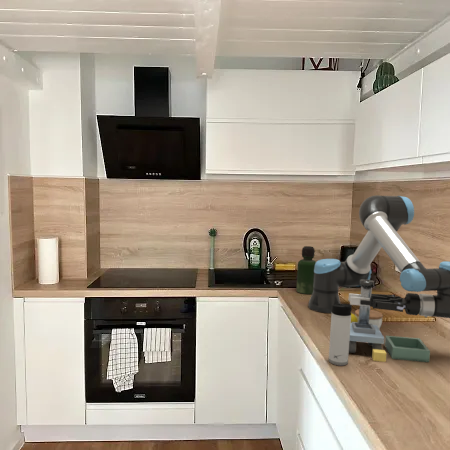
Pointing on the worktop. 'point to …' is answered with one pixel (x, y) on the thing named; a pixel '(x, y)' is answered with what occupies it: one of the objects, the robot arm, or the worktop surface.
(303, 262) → the green bottle
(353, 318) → the lemon
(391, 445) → the worktop surface
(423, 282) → the robot arm
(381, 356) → the block
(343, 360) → the travel mug
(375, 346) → the blue recessed platform
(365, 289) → the clear capped cylinder
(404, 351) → the tray
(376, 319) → the lidded jar
